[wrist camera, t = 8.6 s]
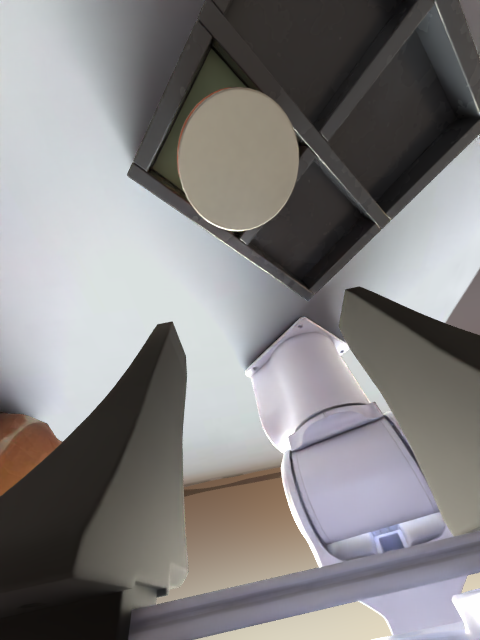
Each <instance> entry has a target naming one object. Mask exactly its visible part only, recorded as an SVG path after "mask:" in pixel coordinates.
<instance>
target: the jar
mask: <svg viewBox="0 0 480 640" xmlns="http://www.w3.org/2000/svg"><path fill="white" fill-rule="evenodd" d="M298 167H299V149H298V142H297V138H296V134H295V131H294V128H293V126H292V123H291V122H290V120H289V118H288V116H287V114H286V113H285V112H284V110H283V109H282V108H281V107H280V106H279V105H278V104H277V103H276V102H275V101H274V100H273V99H272V98H270V97H269V96H268V95H266V94H264V93H262V92H260V91H258V90H255V89H251V88H245V87H227V88H223V89H219V90H217V91H215V92H212V93H210V94H209V95H207V96H206V97H204V98H203V99H202V100H201V101H200V102H199V103H198V104H196V106H195V107H194V108H193V109H192V111H191V112H190V113H189V115H188V117H187V118H186V120H185V122H184V125H183V127H182V129H181V133H180V136H179V140H178V146H177V168H178V173H179V178H180V181H181V184H182V187H183V190H184V192H185V195H186V197H187V198H188V200H189V202H190V204H191V205H192V206H193V208H194V209H195V210H196V211H197V213H198V214H199V215H200V216H201V217H203V218H204V219H205V220H206V221H208V222H209V223H211V224H213V225H215V226H217V227H219V228H222V229H225V230H231V231H245V230H250V229H254V228H256V227H259V226H261V225H263V224H265V223H266V222H268V221H269V220H271V219H272V218H273V217H274V216H275V215H276V214H278V212H279V211H280V210H281V209H282V208H283V206H284V205H285V204H286V202H287V201H288V199H289V197H290V195H291V193H292V190H293V188H294V185H295V182H296V179H297V174H298Z"/></svg>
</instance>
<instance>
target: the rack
mask: <svg viewBox="0 0 480 640" xmlns="http://www.w3.org/2000/svg"><path fill="white" fill-rule="evenodd" d="M227 87H245V88H251V89H255V90H258V91H260V92H262V93H264V94H266V95H268V96H269V97H270V98H272V99H273V100H274V101H275V102H276V103H277V104H278V105H279V106H280V107H281V108H282V109H283V110H284V112H285V113H286V114H287V116H288V118H289V120H290V122H291V123H292V126H293V128H294V131H295V134H296V138H297V142H298V149H299V167H298V174H297V179H296V182H295V185H294V188H293V190H292V193H291V195H290V197H289V199H288V201H287V202H286V204H285V205H284V206H283V208H282V209H281V210H280V211H279V212H278V214H276V215H275V216H274V217H273V218H272V219H271V220H269V221H268V222H266V223H265V224H263V225H261V226H259V227H256V228H254V229H250V230H245V231H231V230H225V229H222V228H219V227H217V226H215V225H213V224H211V223H209V222H208V221H206V220H205V219H204V218H203V217H201V216H200V215H199V214H198V213H197V211H196V210H195V209H194V208H193V206H192V205H191V204H190V202H189V200H188V198H187V197H186V195H185V192H184V190H183V187H182V184H181V181H180V178H179V173H178V168H177V146H178V140H179V136H180V133H181V129H182V127H183V125H184V122H185V120H186V118H187V117H188V115H189V113H190V112H191V111H192V109H193V108H194V107H195V106H196V104H198V103H199V102H200V101H201V100H202V99H203V98H204V97H206V96H207V95H209V94H210V93H212V92H215V91H217V90H219V89H223V88H227ZM479 134H480V59H479V56H478V53H477V50H476V47H475V45H474V42H473V39H472V36H471V33H470V31H469V28H468V25H467V22H466V19H465V16H464V14H463V11H462V8H461V5H460V2H459V0H205V2H204V5H203V7H202V9H201V11H200V13H199V16H198V20H197V21H196V22H195V25H194V27H193V29H192V31H191V34H190V36H189V38H188V40H187V42H186V45H185V47H184V49H183V51H182V54H181V56H180V58H179V60H178V62H177V65H176V67H175V69H174V71H173V73H172V76H171V78H170V80H169V82H168V85H167V87H166V89H165V91H164V93H163V96H162V98H161V100H160V102H159V105H158V107H157V109H156V111H155V113H154V116H153V118H152V120H151V122H150V125H149V127H148V129H147V131H146V133H145V136H144V138H143V140H142V142H141V145H140V147H139V149H138V151H137V153H136V156H135V158H134V160H133V163H132V165H131V167H130V169H129V171H128V173H127V176H128V177H129V178H131V179H132V180H134V181H135V182H137V183H138V184H140V185H141V186H142V187H144V188H145V189H147V190H148V191H150V192H151V193H153V194H154V195H155V196H157V197H158V198H160V199H161V200H163V201H164V202H166V203H167V204H168V205H170V206H171V207H173V208H174V209H176V210H177V211H179V212H180V213H181V214H183V215H184V216H186V217H187V218H189V219H190V220H192V221H193V222H194V223H196V224H197V225H199V226H200V227H202V228H203V229H205V230H206V231H207V232H209V233H210V234H212V235H213V236H215V237H216V238H218V239H219V240H221V241H222V242H223V243H225V244H226V245H228V246H229V247H231V248H232V249H234V250H235V251H236V252H238V253H239V254H241V255H242V256H244V257H245V258H247V259H248V260H249V261H251V262H252V263H254V264H255V265H257V266H258V267H260V268H261V269H262V270H264V271H265V272H267V273H268V274H270V275H271V276H273V277H274V278H275V279H277V280H278V281H280V282H281V283H283V284H284V285H286V286H287V287H288V288H290V289H291V290H293V291H294V292H296V293H297V294H299V295H300V296H301V297H303V298H304V299H306V300H307V301H309V300H310V299H311V298H312V297H313V296H314V294H316V293H317V292H318V291H319V290H320V289H321V288H322V287H323V286H324V285H325V284H326V283H327V282H328V281H329V280H330V279H331V278H332V277H333V276H334V275H335V274H336V273H337V272H338V271H340V270H341V269H342V268H343V267H344V266H345V265H346V264H347V263H348V262H349V261H350V260H351V259H352V258H353V257H354V256H355V255H356V254H357V253H358V252H359V251H360V250H361V249H362V248H363V247H364V246H365V245H366V244H367V243H368V242H369V241H370V240H371V239H372V238H373V237H374V236H375V235H376V234H377V233H379V232H380V231H381V229H383V228H384V227H385V226H386V225H387V224H388V223H389V222H390V221H391V220H392V219H393V218H394V217H395V216H396V215H397V214H398V213H399V212H400V211H401V210H402V209H403V208H404V207H405V206H406V205H407V204H408V203H409V202H410V201H411V200H412V199H413V198H414V197H415V196H416V195H417V194H418V193H420V192H421V191H422V190H423V189H424V188H425V187H426V186H427V185H428V184H429V183H430V182H431V181H432V180H433V179H434V178H435V177H436V176H437V175H438V174H439V173H440V172H441V171H442V170H443V169H444V168H445V167H446V166H447V165H448V164H449V163H450V162H451V161H452V160H453V159H454V158H455V157H456V156H457V155H458V154H460V153H461V152H462V151H463V150H464V149H465V148H466V147H467V146H468V145H469V144H470V143H471V142H472V141H473V140H474V139H475V138H476V137H477V136H478V135H479Z"/></svg>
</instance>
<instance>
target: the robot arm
mask: <svg viewBox="0 0 480 640" xmlns="http://www.w3.org/2000/svg"><path fill="white" fill-rule="evenodd" d="M300 324H301V325H300ZM298 325H300V326H298ZM339 328H340V330H341V333H342V335H343V337H344V339H345V341H346V342H347V343H345V342H344V341H342V340H341V339H339V338H338V337H336V336H334V335H333V334H331V333H330V332H328V331H327V330H325V329H324V328H322V327H320V326H319V325H317V324H316V323H314V322H313V321H311V320H309V319H308V318H306V317H301V318H300V319H298V320H297V321H296V322H295V323H294V324H293V325H292V326H291V327H290V328H289V329H288V330H287V331H286V332H285V333H284V334H283V335H282V336H281V337H280V338H279V339H277V340H276V341H275V342H274V343H273V344H272V345H271V346H270V347H269V348H268V349H267V350H266V351H265V352H264V353H263V354H262V355H261V356H260V357H259V358H258V359H257V360H255V361H254V362H253V363H252V364H251V365H250V366H249V367H248V368H247V369H246V370H245V375H246V376H249V377H251V380H252V384H253V389H254V393H255V398H256V402H257V407H258V411H259V416H260V420H261V424H262V426H263V429H264V431H265V433H266V435H267V436H268V438H269V440H270V441H271V442H272V444H273V445H274V446H275V447H276V448H278V449H279V450H280V451H282V452H283V453H284V456H283V460H282V464H281V474H282V481H283V485H284V489H285V494H286V497H287V500H288V503H289V506H290V509H291V512H292V514H293V517H294V519H295V521H296V524H297V525H298V527H299V529H300V531H301V533H302V534H303V536H304V537H305V538H306V540H307V541H308V543H309V545H310V547H311V549H312V551H313V553H314V556H315V558H316V560H317V563H318V565H319V568H314V569H310V570H306V571H301V572H297V573H292V574H288V575H284V576H279V577H275V578H270V579H266V580H262V581H257V582H253V583H248V584H244V585H240V586H235V587H231V588H227V589H222V590H218V591H213V592H209V593H205V594H201V595H196V596H192V597H187V598H183V599H178V600H174V601H170V602H165V603H161V604H157V605H156V598H157V597H162V596H166V595H168V594H169V589H173V588H177V587H180V586H181V585H182V583H183V581H184V579H185V578H186V576H187V574H188V559H187V544H186V529H185V511H184V488H183V451H182V436H183V420H184V408H185V396H186V383H187V369H186V355H185V353H184V350H183V348H182V345H181V342H180V340H179V337H178V335H177V332H176V329H175V327H174V324H173V322H168V323H162V324H157V326H156V327H155V329H154V330H153V332H152V333H151V335H150V336H149V338H148V340H147V341H146V343H145V344H144V346H143V347H142V349H141V350H140V352H139V353H138V355H137V356H136V358H135V359H134V361H133V362H132V364H131V365H130V366H129V368H128V369H127V371H126V372H125V373H124V375H123V376H122V377H121V378H120V380H119V381H118V382H117V384H116V385H115V386H114V388H113V389H112V390H111V391H110V393H109V394H108V395H107V396H106V397H105V398H104V400H103V401H102V402H101V403H100V404H99V405H98V406H97V407H96V409H95V410H94V411H93V412H92V413H91V414H90V415H89V416H88V417H87V418H86V419H85V420H84V421H83V422H82V423H81V424H80V425H79V426H78V427H77V428H76V429H75V430H74V431H73V432H72V433H71V434H70V435H69V436H68V437H67V438H66V439H65V440H64V441H63V442H62V443H61V444H60V445H59V446H58V447H57V448H56V449H55V450H54V451H53V452H51V453H50V454H49V455H48V456H47V457H46V458H45V459H44V460H43V461H42V462H40V463H39V464H38V465H37V466H36V467H35V468H34V469H32V470H31V471H30V472H29V473H28V474H27V475H26V476H24V477H23V478H22V479H21V480H20V481H18V482H17V483H16V484H15V485H14V486H13V487H11V488H10V489H9V490H8V491H6V492H5V493H4V494H3V495H1V496H0V640H194V639H198V638H203V637H207V636H211V635H215V634H219V633H224V632H228V631H233V630H237V629H241V628H245V627H250V626H254V625H258V624H262V623H267V622H271V621H275V620H279V619H284V618H288V617H292V616H296V615H301V614H305V613H309V612H313V611H318V610H322V609H326V608H330V607H334V606H339V605H343V604H347V603H352V602H356V601H359V602H361V603H362V604H364V605H366V606H368V607H370V608H371V609H373V610H374V611H376V612H377V613H379V614H381V615H382V616H383V617H384V618H385V619H386V621H387V624H388V626H389V628H390V630H391V633H392V635H393V636H388V637H383V638H379V639H374V640H480V588H479V589H475V590H471V591H468V592H465V593H461V592H462V589H463V586H464V583H465V581H466V578H467V576H468V575H471V574H475V573H479V572H480V335H477V334H474V333H471V332H468V331H465V330H462V329H459V328H456V327H453V326H451V325H448V324H446V323H443V322H441V321H438V320H435V319H433V318H430V317H428V316H426V315H423V314H421V313H418V312H416V311H414V310H412V309H409V308H407V307H405V306H403V305H400V304H398V303H396V302H394V301H392V300H389V299H387V298H385V297H383V296H381V295H378V294H376V293H374V292H372V291H369V290H367V289H365V288H362V287H355V288H350V289H345V294H344V299H343V305H342V311H341V316H340V322H339ZM349 348H350V349H351V351H352V352H353V354H354V355H355V357H356V358H357V359H358V361H359V362H360V364H361V365H362V367H363V368H364V369H365V371H366V372H367V374H368V375H369V377H370V378H371V379H372V381H373V382H374V384H375V385H376V386H377V388H378V389H379V391H380V392H381V394H382V396H383V397H384V399H385V400H386V402H387V404H388V406H389V408H390V409H391V411H387V412H384V413H383V414H382V412H381V411H380V409H379V407H378V406H377V404H376V403H375V402H372V403H371V402H370V401H369V399H368V397H367V396H366V394H365V393H364V391H363V390H362V388H361V386H360V385H359V383H358V382H357V380H356V379H355V377H354V375H353V374H352V372H351V371H350V369H349V368H348V366H347V364H346V363H345V361H344V360H343V358H342V357H341V355H342V354H343V353H345V352H346V351H347V350H348V349H349Z"/></svg>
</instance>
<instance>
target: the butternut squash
mask: <svg viewBox="0 0 480 640" xmlns="http://www.w3.org/2000/svg"><path fill="white" fill-rule="evenodd" d="M61 443H62V441H60V440H58V439H57V438H56V436H55V435H54V434H53V432H52V430H51V429H50V427H49V426H48V424H47V423H44V422H42V421H39V420H37V419H35V418H32V417H30V416H28V415H24V414H15V413H13V414H8V413H4V412H0V496H1V495H3V494H4V493H5V492H6V491H8V490H9V489H10V488H11V487H13V486H14V485H15V484H16V483H17V482H18V481H20V480H21V479H22V478H23V477H24V476H26V475H27V474H28V473H29V472H30V471H31V470H32V469H34V468H35V467H36V466H37V465H38V464H39V463H40V462H42V461H43V460H44V459H45V458H46V457H47V456H48V455H49V454H50V453H51V452H53V451H54V450H55V449H56V448H57V447H58V446H59V445H60V444H61Z"/></svg>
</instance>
